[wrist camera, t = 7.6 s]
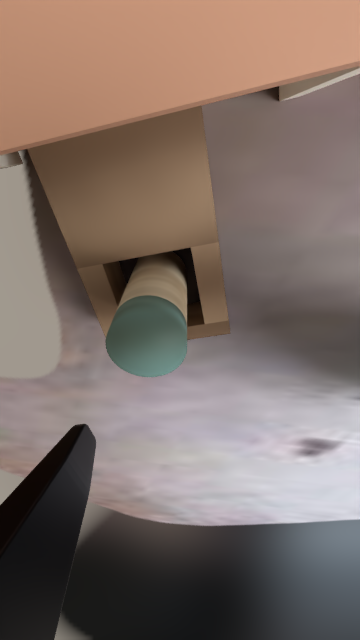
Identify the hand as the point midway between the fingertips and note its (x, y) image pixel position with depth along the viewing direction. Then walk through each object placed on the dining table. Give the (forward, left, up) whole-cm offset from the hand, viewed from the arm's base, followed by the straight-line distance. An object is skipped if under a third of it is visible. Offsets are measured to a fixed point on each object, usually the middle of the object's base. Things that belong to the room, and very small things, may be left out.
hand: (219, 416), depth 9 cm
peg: (0, +3, -12) cm, 12 cm away
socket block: (+5, +3, -12) cm, 13 cm away
